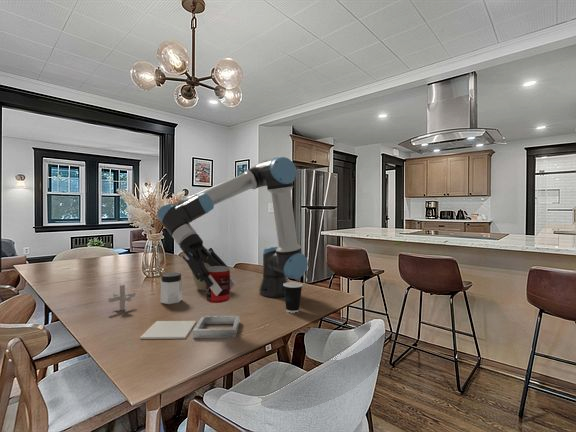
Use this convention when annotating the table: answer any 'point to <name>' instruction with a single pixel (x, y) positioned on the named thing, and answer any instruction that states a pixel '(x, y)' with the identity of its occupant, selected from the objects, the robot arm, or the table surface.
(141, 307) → the table surface
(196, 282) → the plant pot
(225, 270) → the canned food
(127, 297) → the light grey toy jack
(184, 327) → the tile
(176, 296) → the jar
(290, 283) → the dixie cup
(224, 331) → the square frame
